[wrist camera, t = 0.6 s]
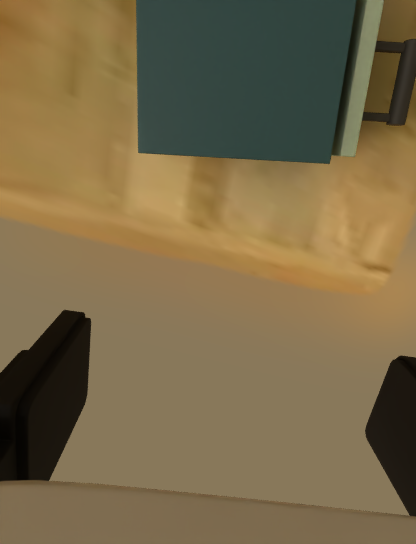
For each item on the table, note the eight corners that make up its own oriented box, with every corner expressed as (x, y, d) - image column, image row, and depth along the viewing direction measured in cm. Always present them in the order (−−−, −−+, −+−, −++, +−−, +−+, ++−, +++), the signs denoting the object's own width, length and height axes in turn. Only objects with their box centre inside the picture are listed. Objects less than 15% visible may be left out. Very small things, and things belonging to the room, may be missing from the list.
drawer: (399, 21, 30) (456, -17, 23) (371, 157, 34) (414, 160, 27) (191, 6, 30) (187, -36, 23) (187, 147, 34) (182, 147, 27)
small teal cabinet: (319, 11, 31) (363, -42, 22) (299, 160, 35) (330, 163, 26) (154, 0, 30) (135, -58, 22) (154, 151, 35) (138, 153, 26)
